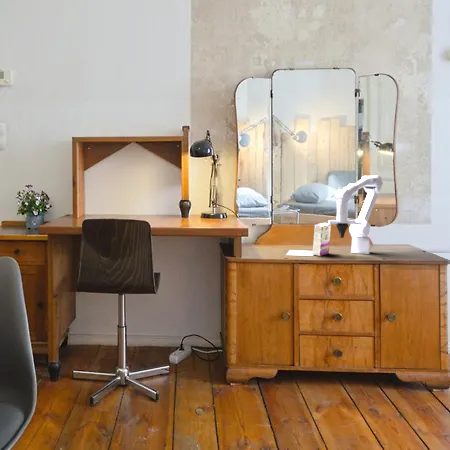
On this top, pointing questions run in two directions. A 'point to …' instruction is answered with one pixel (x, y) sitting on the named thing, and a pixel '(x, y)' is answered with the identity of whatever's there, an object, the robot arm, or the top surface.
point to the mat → (300, 253)
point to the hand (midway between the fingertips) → (341, 237)
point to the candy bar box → (321, 239)
